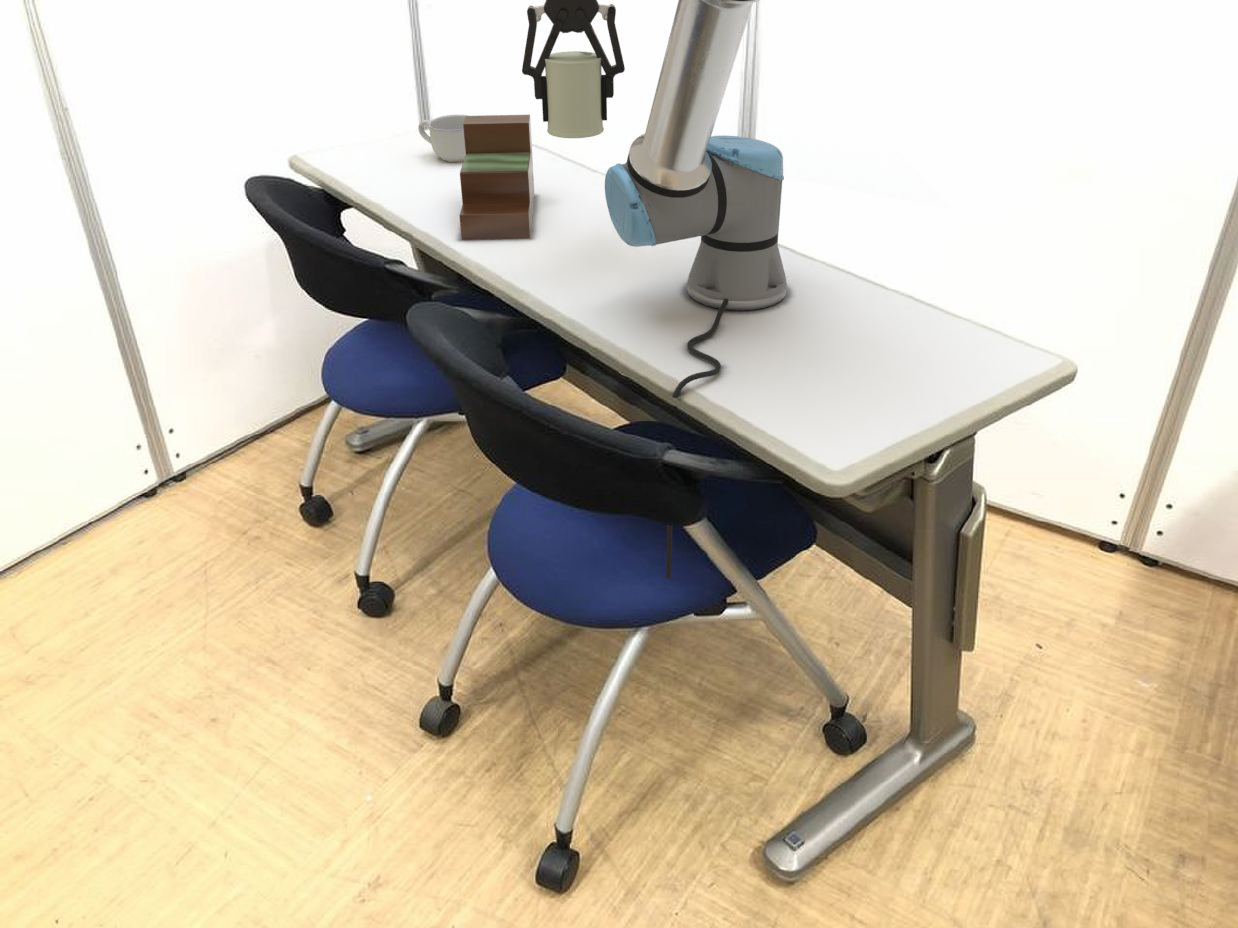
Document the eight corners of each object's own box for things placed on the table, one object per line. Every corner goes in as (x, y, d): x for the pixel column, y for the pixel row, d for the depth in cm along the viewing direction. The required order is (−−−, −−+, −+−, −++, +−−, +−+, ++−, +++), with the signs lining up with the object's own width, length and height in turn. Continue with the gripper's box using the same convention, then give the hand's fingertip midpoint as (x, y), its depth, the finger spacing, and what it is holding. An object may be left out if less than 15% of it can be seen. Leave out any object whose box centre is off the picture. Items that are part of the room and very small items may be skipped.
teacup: (491, 155, 228) (489, 118, 224) (460, 168, 220) (456, 129, 216) (442, 147, 235) (439, 110, 230) (410, 159, 227) (405, 121, 223)
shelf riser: (530, 238, 184) (525, 150, 176) (461, 240, 184) (453, 151, 175) (534, 195, 204) (530, 114, 196) (472, 197, 204) (465, 116, 196)
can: (615, 130, 171) (614, 52, 165) (576, 141, 165) (573, 62, 159) (574, 121, 176) (572, 46, 170) (535, 132, 171) (531, 54, 164)
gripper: (640, -38, 161) (640, 112, 173) (499, -36, 161) (509, 114, 173) (642, -32, 155) (642, 123, 167) (496, -30, 154) (507, 126, 166)
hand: (575, 119), depth 170 cm, fingers closed on can, 9 cm apart
